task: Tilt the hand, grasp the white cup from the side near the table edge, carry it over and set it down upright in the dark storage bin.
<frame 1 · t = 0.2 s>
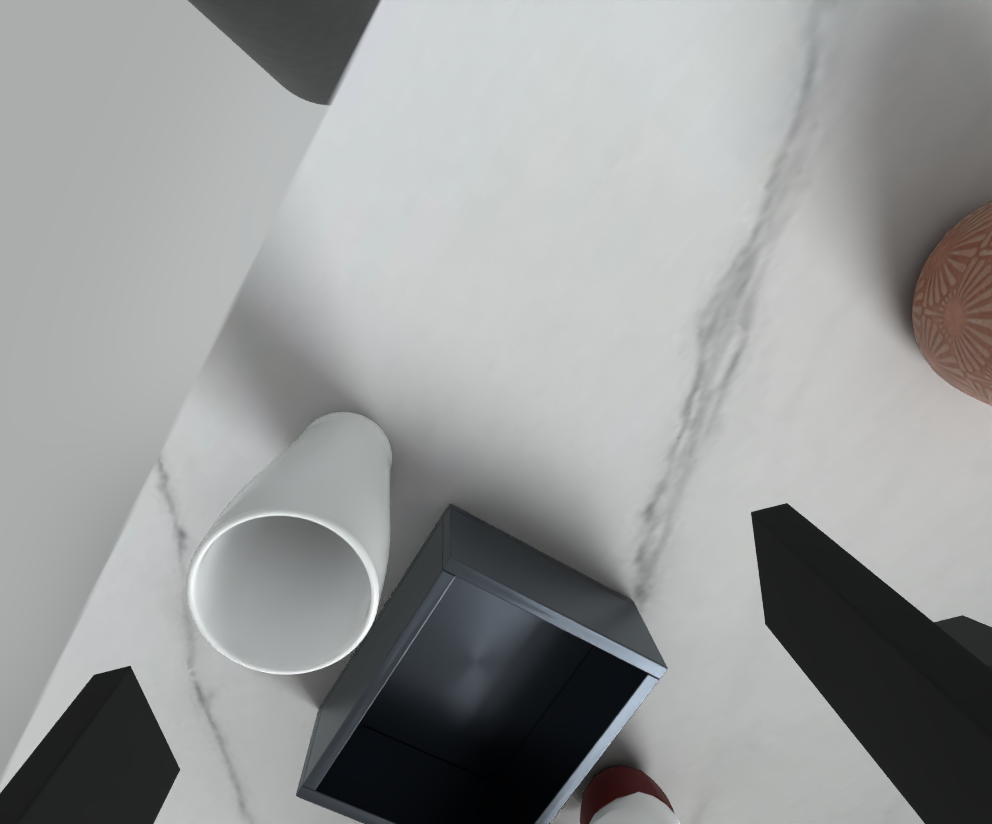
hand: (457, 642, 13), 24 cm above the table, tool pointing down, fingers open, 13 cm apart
cocoa: (621, 781, 45), on the table
planter: (984, 294, 37), on the table
dark storage bin: (475, 655, 41), on the table
white cup: (346, 452, 37), on the table
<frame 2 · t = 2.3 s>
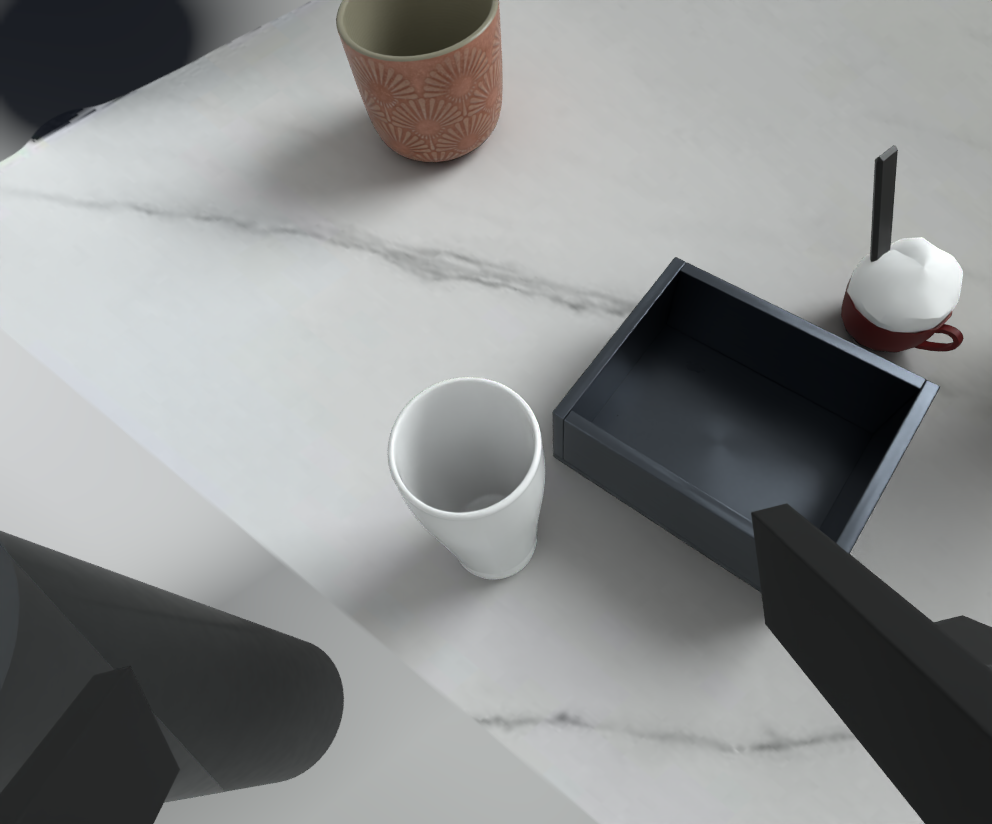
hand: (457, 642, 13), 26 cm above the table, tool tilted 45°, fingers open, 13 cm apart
cocoa: (870, 323, 45), on the table
planter: (441, 130, 58), on the table
dark storage bin: (717, 446, 42), on the table
white cup: (495, 539, 41), on the table
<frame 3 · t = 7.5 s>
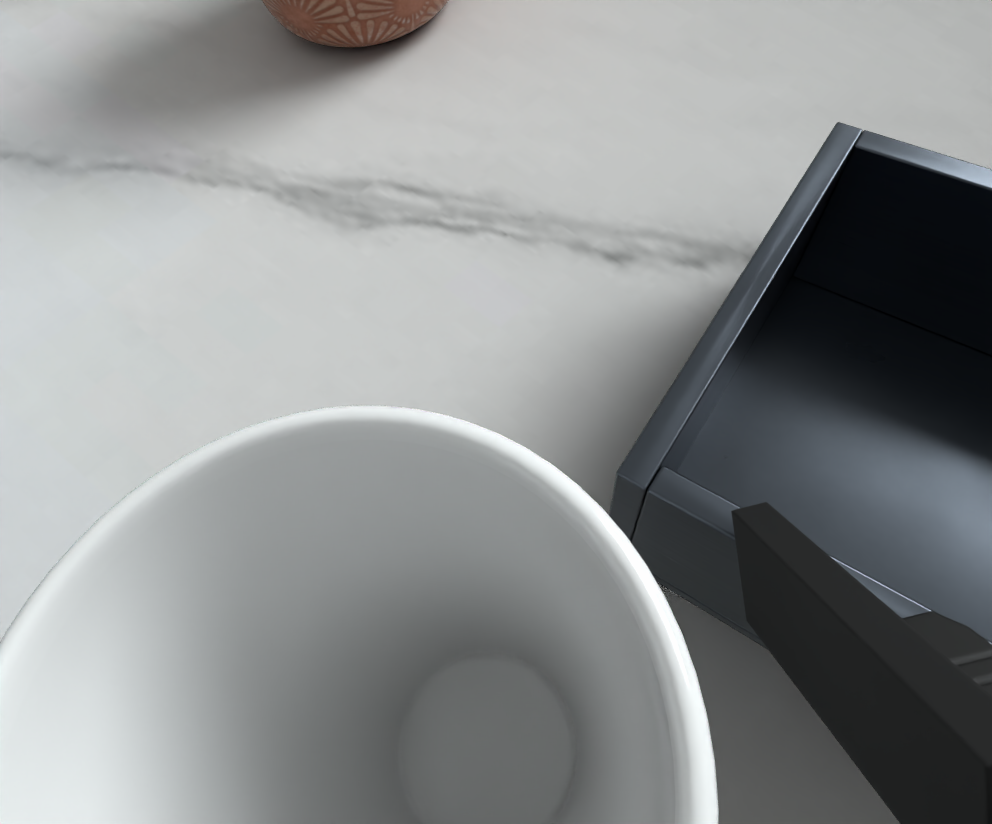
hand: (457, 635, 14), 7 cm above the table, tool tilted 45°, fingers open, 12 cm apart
planter: (371, 6, 37), on the table
dark storage bin: (939, 510, 20), on the table
white cup: (494, 746, 19), on the table
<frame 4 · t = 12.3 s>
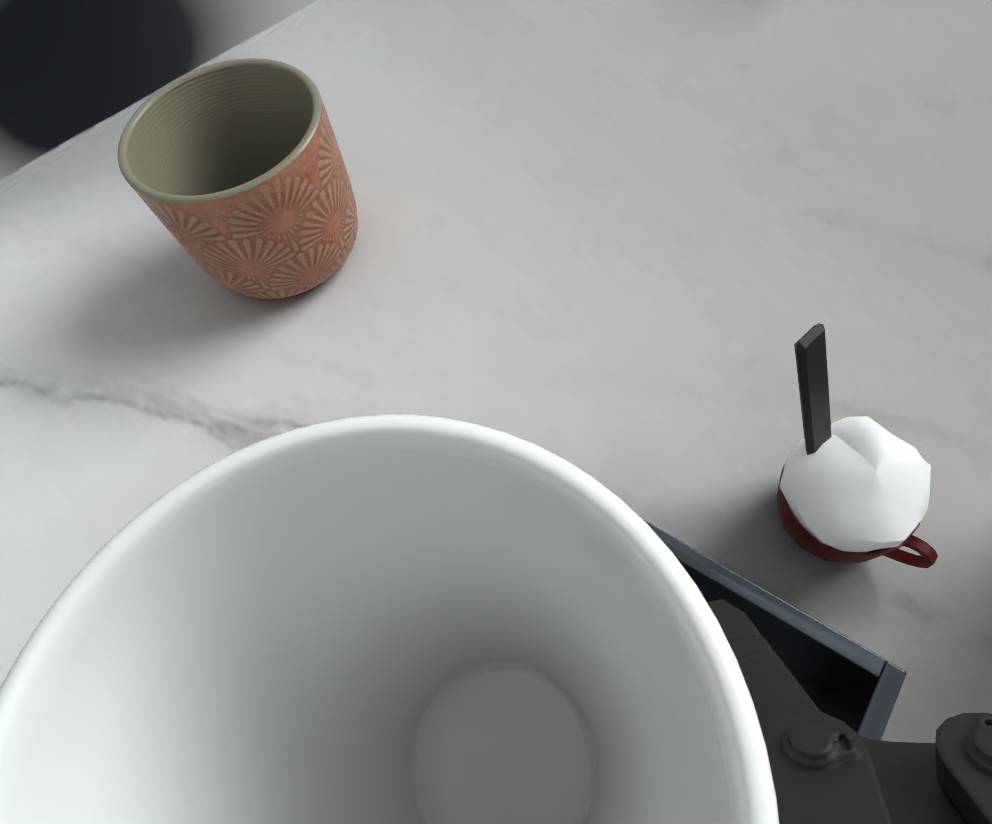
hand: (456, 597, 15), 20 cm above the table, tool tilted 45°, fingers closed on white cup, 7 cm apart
cocoa: (817, 509, 35), on the table
planter: (292, 252, 48), on the table
dark storage bin: (618, 708, 31), on the table
white cup: (509, 759, 18), point 14 cm above the table, touching gripper
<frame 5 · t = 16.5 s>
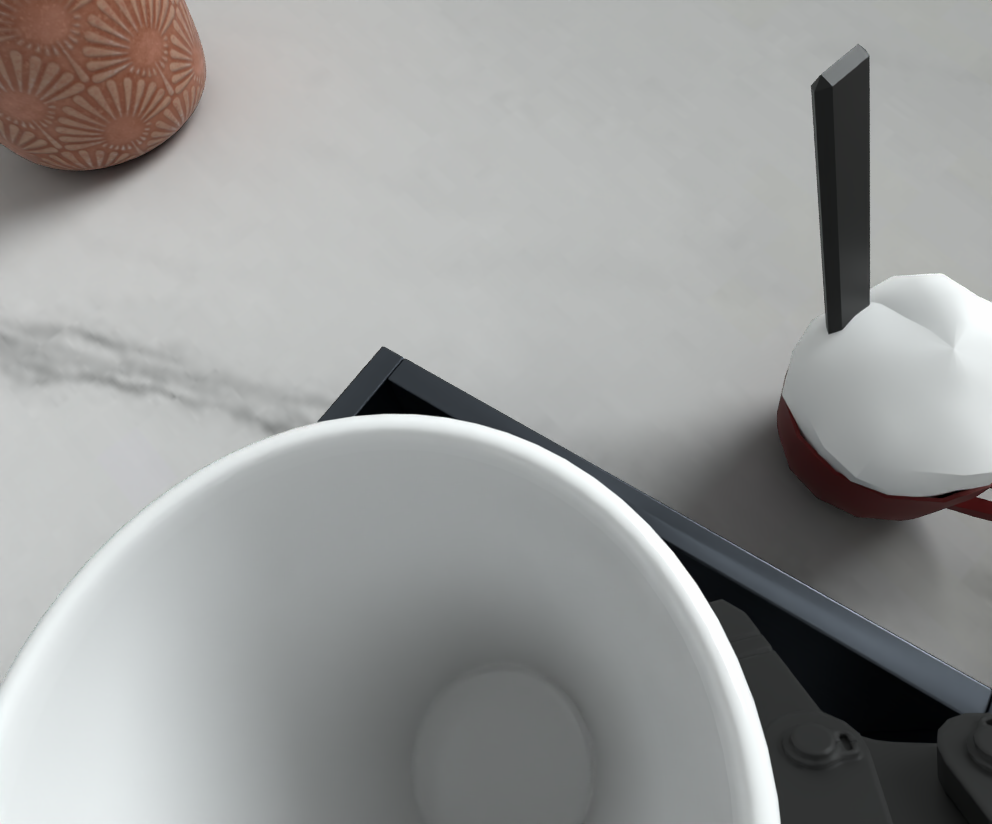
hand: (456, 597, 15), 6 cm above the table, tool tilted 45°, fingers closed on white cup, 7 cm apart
cocoa: (841, 443, 22), on the table
planter: (124, 118, 35), on the table
dark storage bin: (512, 760, 19), on the table
white cup: (508, 760, 18), resting in dark storage bin, touching gripper
when the fingers open (6 cm above the table, at t = 16.8 s): white cup stays where it is, resting on dark storage bin.
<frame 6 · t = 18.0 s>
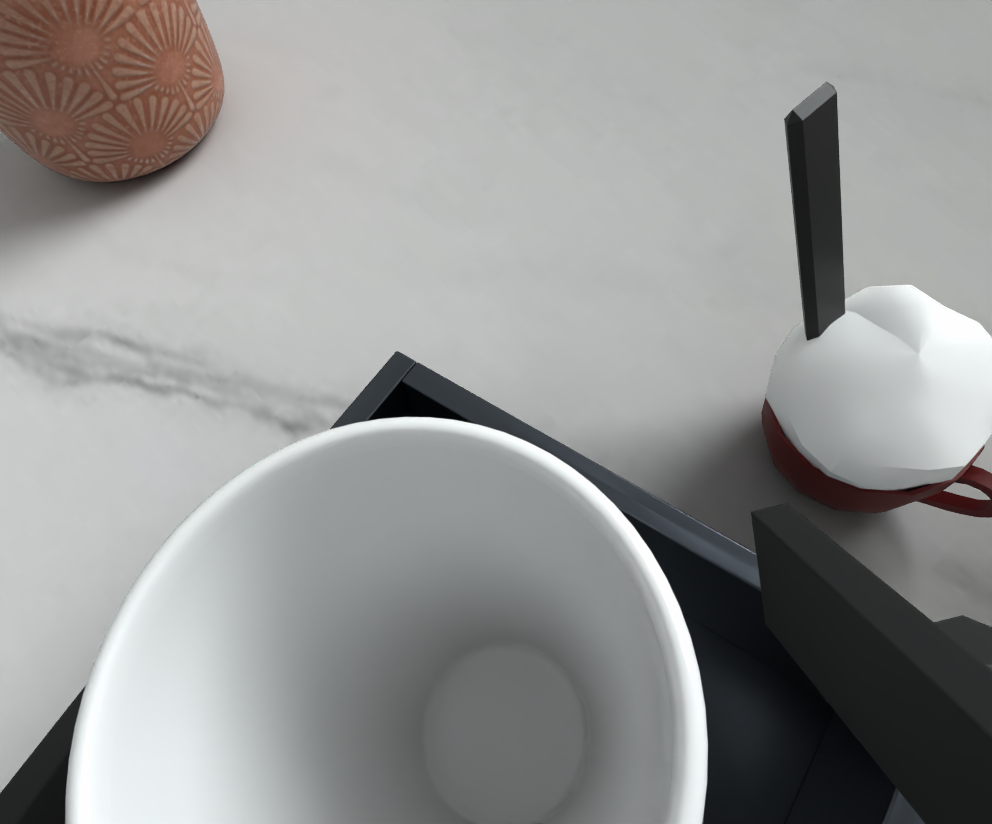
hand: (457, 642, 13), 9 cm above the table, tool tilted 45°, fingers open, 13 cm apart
cocoa: (823, 442, 24), on the table
planter: (145, 131, 37), on the table
dark storage bin: (515, 732, 20), on the table
white cup: (511, 732, 20), resting on dark storage bin
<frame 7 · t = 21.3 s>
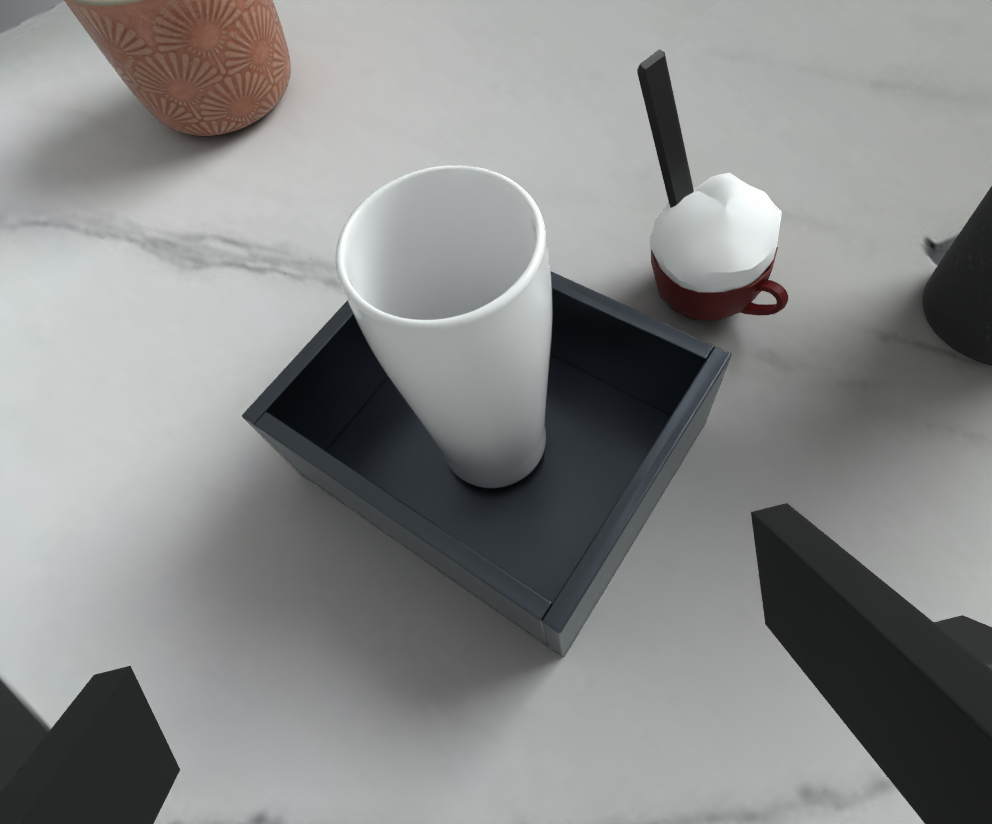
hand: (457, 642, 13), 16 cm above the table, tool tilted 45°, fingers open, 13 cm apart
cocoa: (696, 288, 37), on the table
planter: (230, 101, 50), on the table
dark storage bin: (497, 448, 33), on the table
white cup: (495, 445, 33), resting on dark storage bin
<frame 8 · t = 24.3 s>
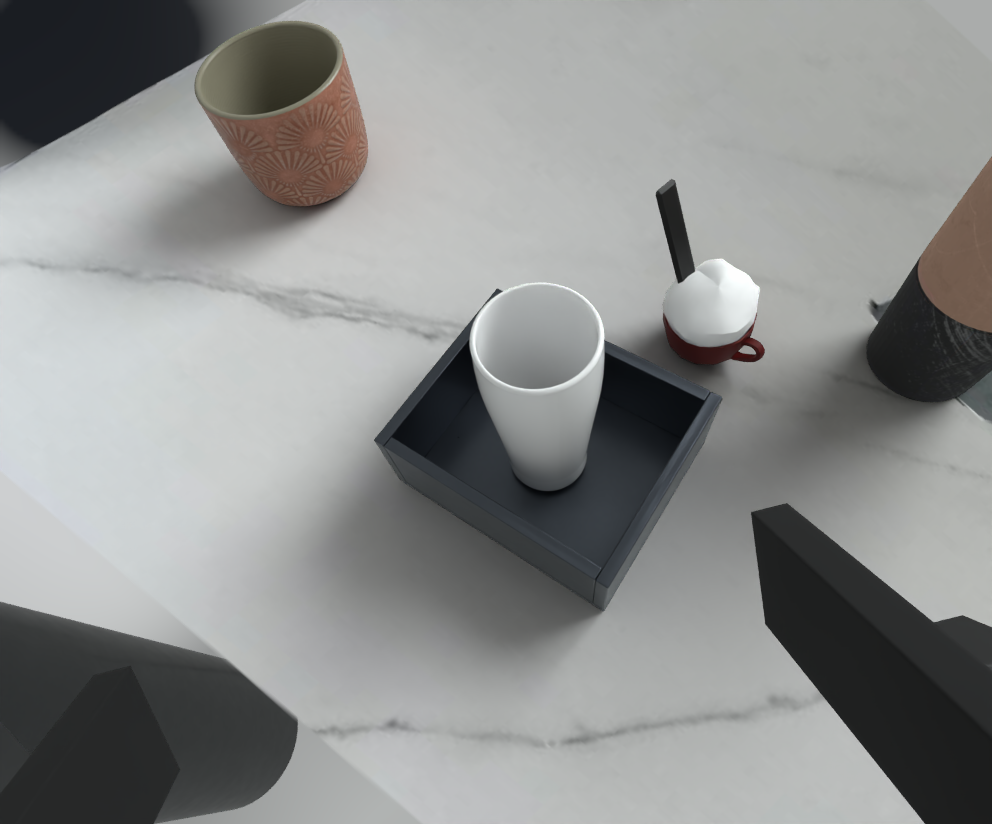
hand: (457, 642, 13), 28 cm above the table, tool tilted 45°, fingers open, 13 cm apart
cocoa: (697, 338, 48), on the table
planter: (317, 174, 62), on the table
travel mug: (918, 360, 46), on the table
dark storage bin: (549, 461, 45), on the table
white cup: (548, 459, 45), resting on dark storage bin
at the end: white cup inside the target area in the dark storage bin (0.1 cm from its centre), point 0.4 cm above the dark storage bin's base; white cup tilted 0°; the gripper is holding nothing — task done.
